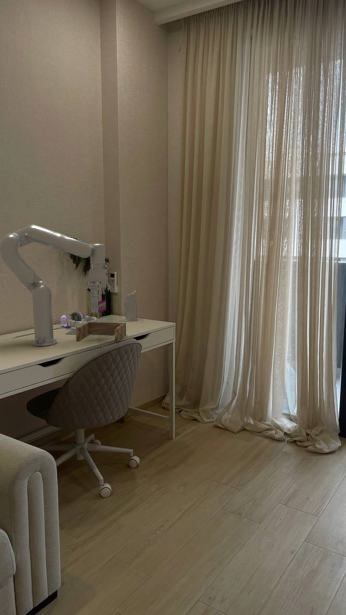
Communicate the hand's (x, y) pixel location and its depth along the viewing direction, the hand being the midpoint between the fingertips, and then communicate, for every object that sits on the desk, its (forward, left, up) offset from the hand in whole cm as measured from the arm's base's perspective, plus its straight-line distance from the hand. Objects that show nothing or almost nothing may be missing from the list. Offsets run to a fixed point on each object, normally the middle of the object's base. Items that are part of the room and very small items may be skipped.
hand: (98, 300), depth 243 cm
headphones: (+33, +23, -21) cm, 45 cm away
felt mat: (+16, +20, -21) cm, 33 cm away
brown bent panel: (+3, 0, -21) cm, 21 cm away
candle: (+56, 0, -21) cm, 60 cm away
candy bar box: (0, 0, -6) cm, 6 cm away
